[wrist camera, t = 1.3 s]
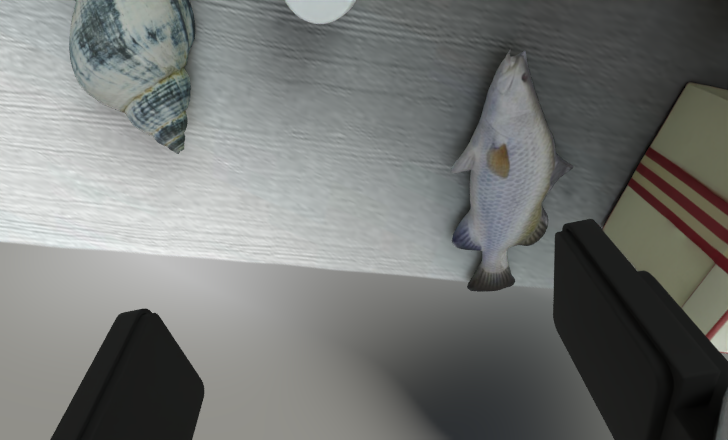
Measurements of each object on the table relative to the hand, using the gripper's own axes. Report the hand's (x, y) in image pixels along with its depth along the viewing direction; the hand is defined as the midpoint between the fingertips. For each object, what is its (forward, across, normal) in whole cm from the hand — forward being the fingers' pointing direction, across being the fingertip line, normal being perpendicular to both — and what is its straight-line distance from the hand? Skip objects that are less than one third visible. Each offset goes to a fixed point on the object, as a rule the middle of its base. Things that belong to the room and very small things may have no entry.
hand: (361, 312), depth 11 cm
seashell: (+27, +14, -3) cm, 31 cm away
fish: (+26, -6, +13) cm, 30 cm away
